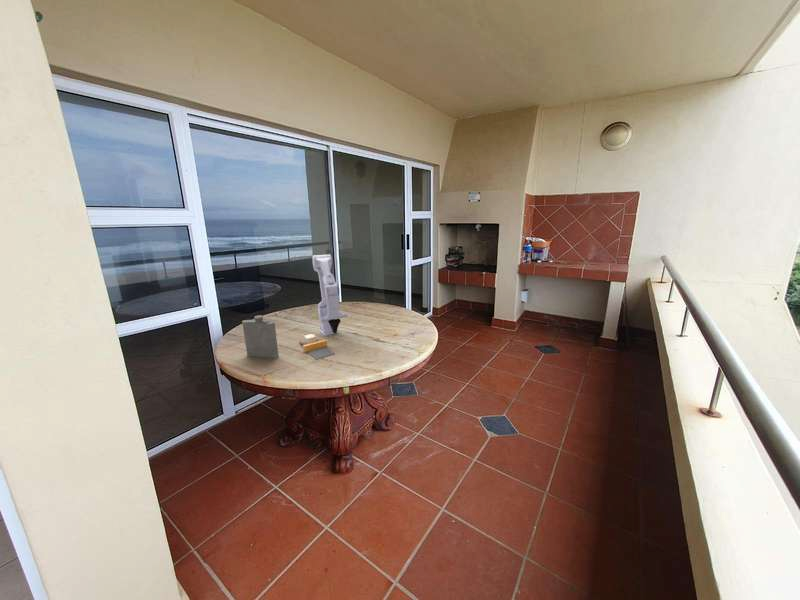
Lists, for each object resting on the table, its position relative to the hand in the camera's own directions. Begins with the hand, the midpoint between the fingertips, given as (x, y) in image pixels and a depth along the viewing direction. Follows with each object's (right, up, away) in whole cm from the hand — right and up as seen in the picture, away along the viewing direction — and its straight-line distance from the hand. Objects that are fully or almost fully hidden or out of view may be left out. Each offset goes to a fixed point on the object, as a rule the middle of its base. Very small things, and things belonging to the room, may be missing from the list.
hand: (334, 332), depth 166 cm
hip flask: (-32, -10, -12) cm, 36 cm away
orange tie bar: (-9, -7, -5) cm, 12 cm away
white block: (-12, -6, 0) cm, 14 cm away
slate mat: (-5, -9, -10) cm, 14 cm away
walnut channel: (-12, -6, 0) cm, 14 cm away
